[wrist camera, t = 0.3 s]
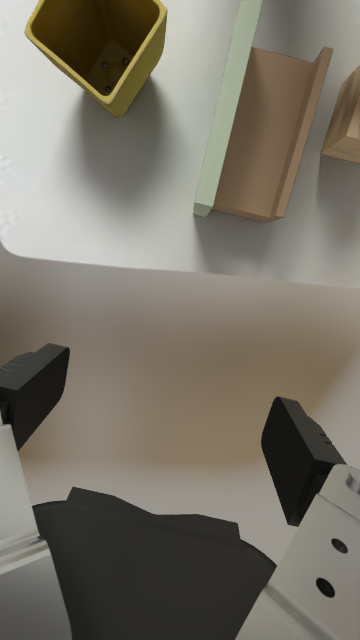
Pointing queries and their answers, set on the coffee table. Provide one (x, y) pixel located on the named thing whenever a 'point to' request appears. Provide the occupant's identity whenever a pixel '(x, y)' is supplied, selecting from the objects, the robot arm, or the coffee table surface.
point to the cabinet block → (345, 122)
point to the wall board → (258, 126)
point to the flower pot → (101, 44)
